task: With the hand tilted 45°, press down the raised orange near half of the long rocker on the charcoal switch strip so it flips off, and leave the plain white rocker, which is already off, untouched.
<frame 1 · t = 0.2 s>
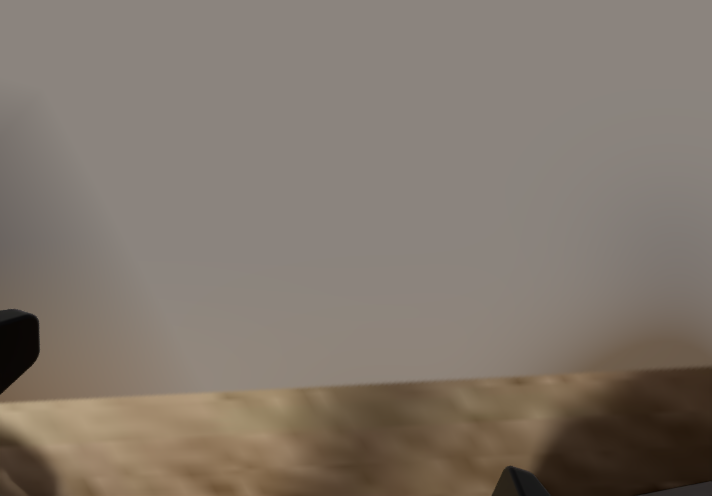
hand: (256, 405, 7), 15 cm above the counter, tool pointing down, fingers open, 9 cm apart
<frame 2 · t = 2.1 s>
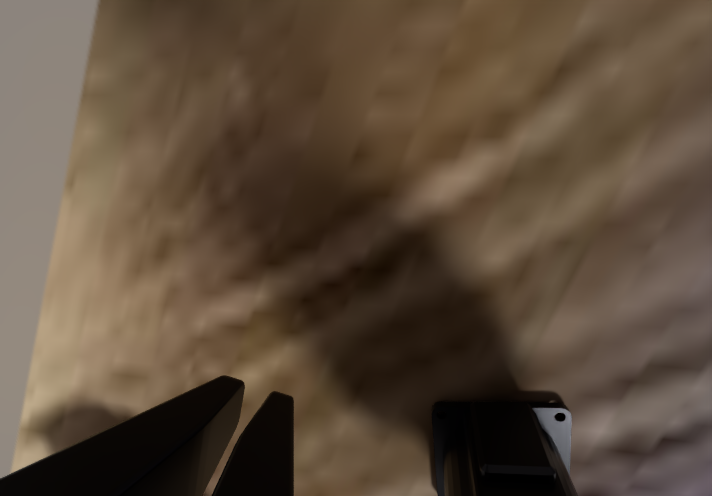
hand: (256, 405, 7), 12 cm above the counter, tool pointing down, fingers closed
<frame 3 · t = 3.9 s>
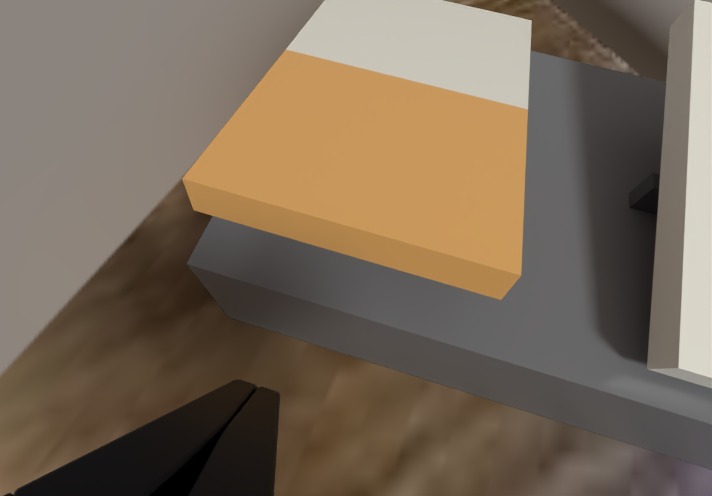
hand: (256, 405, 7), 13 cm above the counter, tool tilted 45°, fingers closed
rocker striped: (400, 94, 16), point 10 cm above the counter, hinge at -9.0°
switch strip: (503, 251, 24), on the counter
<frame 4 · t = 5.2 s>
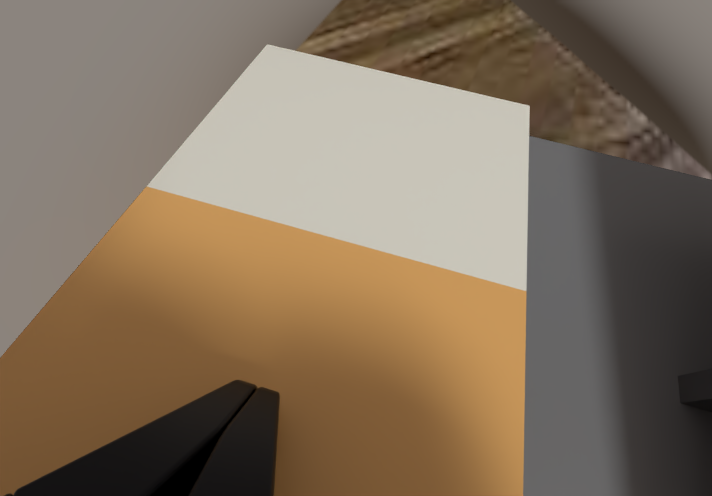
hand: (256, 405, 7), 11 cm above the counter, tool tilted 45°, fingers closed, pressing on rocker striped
rocker striped: (327, 252, 10), point 10 cm above the counter, hinge at -9.0°, touching gripper
switch strip: (495, 391, 18), on the counter
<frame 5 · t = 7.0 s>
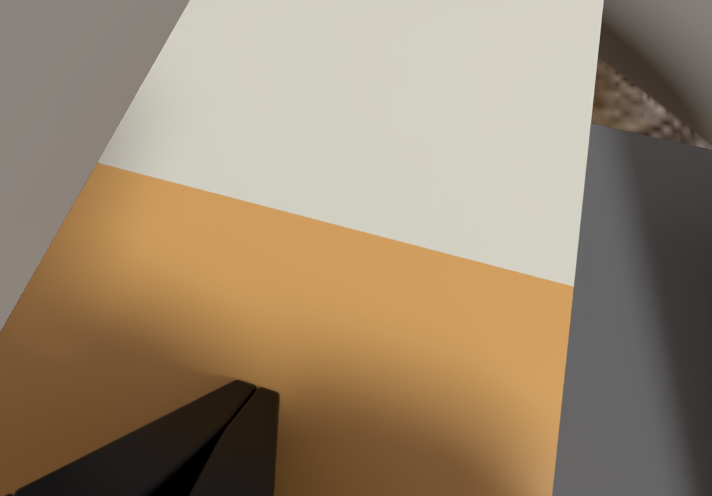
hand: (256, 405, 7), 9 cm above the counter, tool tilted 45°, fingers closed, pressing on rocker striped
rocker striped: (323, 233, 9), point 10 cm above the counter, hinge at 10.2°, touching gripper
switch strip: (517, 404, 16), on the counter
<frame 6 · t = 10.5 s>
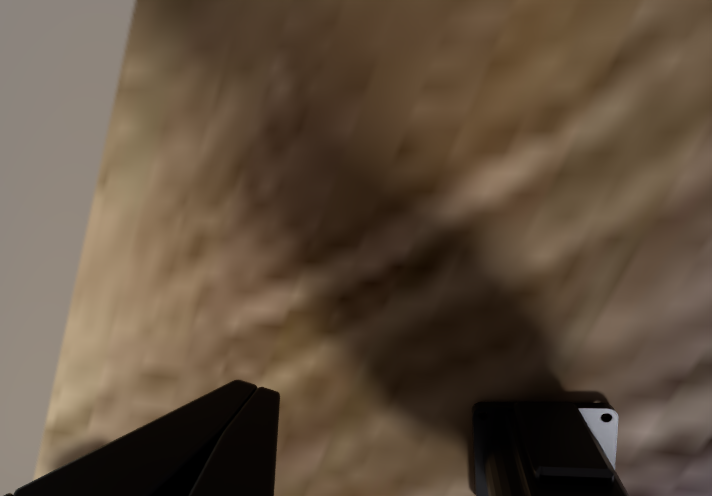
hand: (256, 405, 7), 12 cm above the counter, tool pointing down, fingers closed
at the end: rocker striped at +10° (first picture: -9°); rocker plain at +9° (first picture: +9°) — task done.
